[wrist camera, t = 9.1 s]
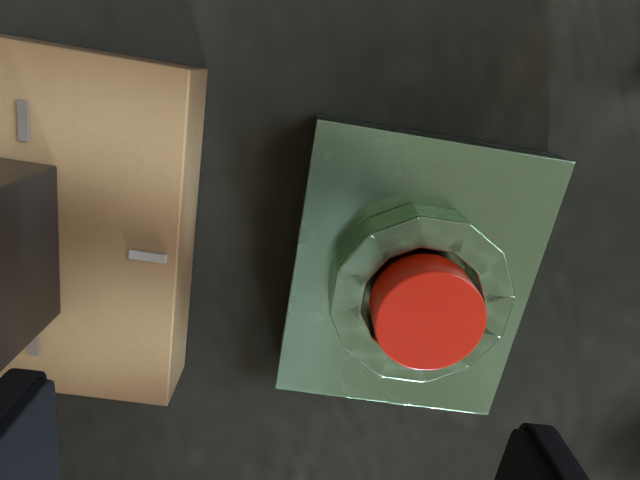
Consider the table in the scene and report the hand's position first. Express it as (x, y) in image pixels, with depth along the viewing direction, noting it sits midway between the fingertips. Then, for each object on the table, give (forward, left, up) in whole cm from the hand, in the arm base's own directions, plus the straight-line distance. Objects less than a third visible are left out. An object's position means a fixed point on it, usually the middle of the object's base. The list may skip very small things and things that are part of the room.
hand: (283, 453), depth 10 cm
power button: (0, -5, -9) cm, 10 cm away
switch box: (0, -5, -12) cm, 13 cm away
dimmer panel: (0, +10, -12) cm, 16 cm away
